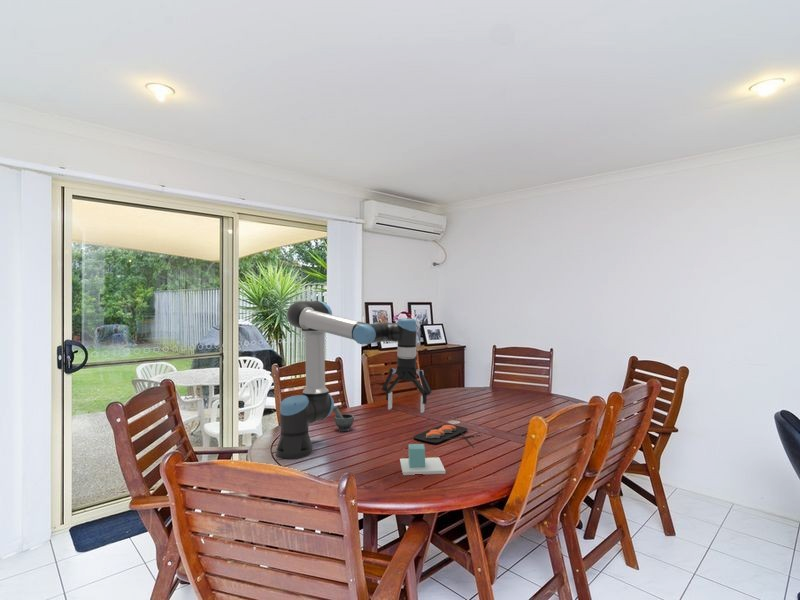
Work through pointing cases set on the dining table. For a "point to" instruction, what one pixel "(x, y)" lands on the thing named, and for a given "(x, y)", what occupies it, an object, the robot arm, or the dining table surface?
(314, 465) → the dining table surface
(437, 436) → the sushi plate
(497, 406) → the dining table surface
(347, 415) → the mortar and pestle
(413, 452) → the cap
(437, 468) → the stud board
